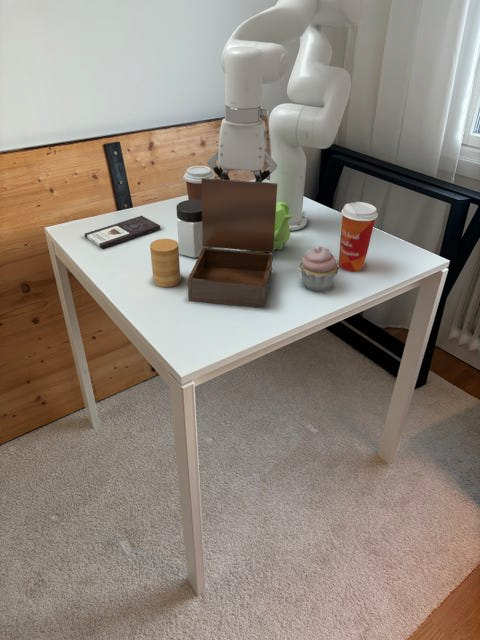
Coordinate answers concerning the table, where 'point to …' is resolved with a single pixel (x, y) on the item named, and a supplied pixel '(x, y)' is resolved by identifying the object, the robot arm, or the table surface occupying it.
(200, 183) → the coffee cup
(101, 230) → the chocolate bar
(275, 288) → the table surface
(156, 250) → the cookie stack
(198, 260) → the chest
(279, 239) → the teapot
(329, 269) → the cupcake
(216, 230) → the lid
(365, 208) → the coffee cup
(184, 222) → the jar
